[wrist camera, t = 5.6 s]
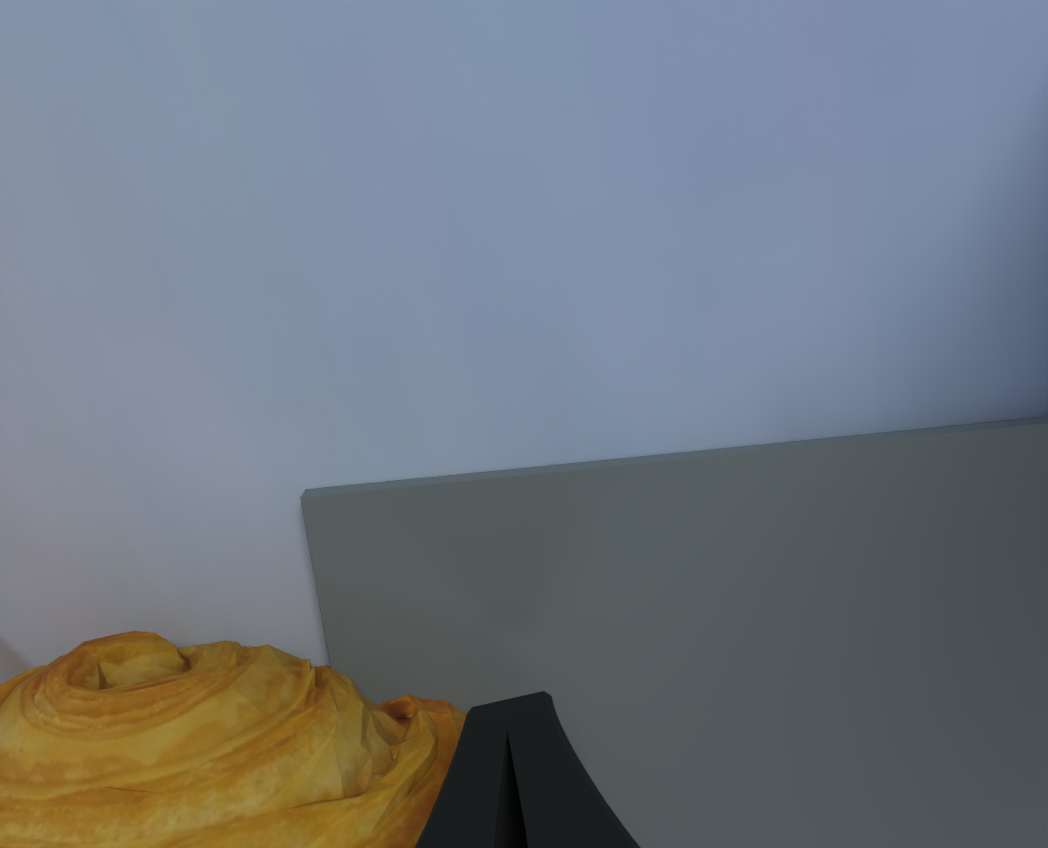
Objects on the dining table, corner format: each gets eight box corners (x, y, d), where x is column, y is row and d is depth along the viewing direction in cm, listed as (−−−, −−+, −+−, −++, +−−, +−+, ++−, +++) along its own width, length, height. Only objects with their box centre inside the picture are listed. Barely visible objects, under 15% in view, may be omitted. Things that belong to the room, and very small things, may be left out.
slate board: (1250, 396, 13) (1273, 401, 13) (1116, 1004, 18) (1130, 1021, 18) (305, 489, 12) (300, 497, 12) (415, 1107, 17) (413, 1126, 17)
